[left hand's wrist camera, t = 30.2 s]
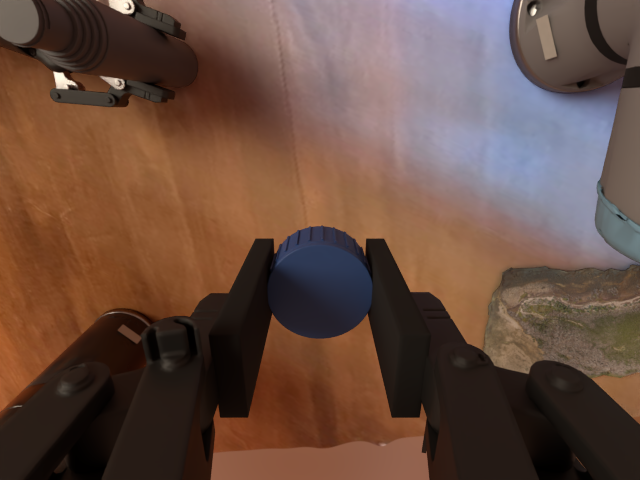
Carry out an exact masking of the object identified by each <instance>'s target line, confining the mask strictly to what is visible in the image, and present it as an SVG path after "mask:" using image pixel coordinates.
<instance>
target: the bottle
mask: <svg viewBox="0 0 640 480" xmlns="http://www.w3.org/2000/svg"><path fill="white" fill-rule="evenodd" d="M0 37H2V38H3V39H5V40H6V41H8V42H10V43H12V44H14V45H16V46H20V47H26V48H31V47H32V48H37V49H38V50H39V51H40V52H42V53H43V54H44V55H45V56H46V57H47V58H48V59H50V60H51V61H52V62H53V63H55V64H56V65H58V66H60V67H62V68H65V69H67V70H69V71H72V72H77V73H83V74H90V75H97V76H104V77H111V78H117V79H124V80H131V81H138V82H145V83H151V84H158V85H165V86H172V87H185V86H188V85H189V84H191V83H192V82H193V81H194V79H195V77H196V75H197V71H198V63H197V59H196V56H195V54H194V52H193V51H192V49H191V48H190V47H189V46H188V45H187V44H185V43H184V42H182V41H180V40H178V39H176V38H174V37H171V36H169V35H167V34H165V33H163V32H161V31H159V30H157V29H155V28H153V27H151V26H149V25H147V24H144V23H142V22H140V21H138V20H136V19H134V18H132V17H130V16H128V15H126V14H124V13H122V12H120V11H117V10H115V9H113V8H111V7H109V6H107V5H105V4H103V3H101V2H99V1H97V0H0Z"/></svg>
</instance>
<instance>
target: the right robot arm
mask: <svg viewBox="0 0 640 480" xmlns="http://www.w3.org/2000/svg"><path fill="white" fill-rule="evenodd" d="M97 1H99V2H101V3H103V4H105V5H107V6H109V7H111V8H113V9H115V10H117V11H120V12H122V13H124V14H126V15H128V16H130V17H132V18H134V19H136V20H138V21H140V22H142V23H144V24H147V25H149V26H151V27H153V28H155V29H157V30H159V31H161V32H164V33H166V34H169V35H172V36H174V37H177V38H179V39H182V40H185V37H186V32H185V31H183V30H181V29H180V27H181V24H180V23H179V22H178V21H177V20H176V19H174V18H173V17H171V16H169V15H167V14H164V13H162V12H159V11H156V10H154V9H151V8H149V7H146V6H145V4H144V2H143V0H97ZM0 46H1V47H4V48H7V49H10V50H13V51H15V52H18V53H21V54H24V55H26V56H29V57H32V58H35V59H37V60H39V61H41V62H42V63H43V64H44V65H45V66H46V67H48V68H49V69H50V70H52V71H53V72H54V78H55V83H56V88H54V89H52V90H51V91H50V96H51V98H52V99H53V100H54V101H55V102H60V103H71V104H82V105H93V106H105V107H126V106H127V105H128V103H129V100H128V99H129V97H130V96H131V95H132V94H133V95H136V96H139V97H142V98H145V99H147V100H150V101H153V102H158V103H165V102H167V100H168V99H174V97H175V92H174V91H172V90H169V89H166V88H163V87H161V86H158V85H155V84H151V83H145V82H138V81H131V80H124V79H117V78H111V77H104V76H99V77H100V78H102V79H103V80H104V81H106V82H107V83H109V84H110V85H111V87H110V89H109V91H108V93H104V92H93V91H85V87H84V86H83V84H82V83H80V82H78V81H75V80H74V79H73V78H72V77H71V75H70V73H72V71H69V70H67V69H65V68H62V67H60V66H58V65H56V64H55V63H53V62H52V61H51V60H50V59H48V58H47V57H46V56H45V55H44V54H43V53H42V52H40V51H39V50H38V49H37V48H32V47H31V48H26V47H20V46H16V45H14V44H12V43H10V42H8V41H6V40H5V39H3V38H2V37H0ZM151 324H153V323H152V322H151V321H150V320H149V319H148V318H147V317H145V316H144V315H142V314H140V313H138V312H136V311H133V310H129V309H113V310H110V311H107V312H105V313H104V314H102V315H101V316H100V317H99V318H98V319H97V320H96V321H95V323H94V324H93V325H92V326H91V327H90V328H88V329H87V330H86V331H85V332H84V333H83V334H82V335H81V336H80V337H79V338H78V339H77V340H76V341H75V342H73V343H72V344H71V345H70V346H69V347H68V348H67V349H66V350H65V351H64V352H63V353H62V354H61V355H60V356H59V357H58V358H57V359H56V360H54V361H53V362H52V363H51V364H50V365H49V366H48V367H47V368H46V369H45V370H44V371H43V372H42V373H41V374H40V375H39V376H38V377H37V378H36V379H34V380H33V381H32V382H31V383H30V384H29V385H28V386H27V387H26V388H25V389H24V390H23V391H22V392H21V393H20V394H19V395H18V396H17V397H16V398H15V399H14V400H12V401H11V402H10V403H9V404H8V405H7V406H6V407H5V408H4V409H3V410H2V411H1V412H0V427H1V426H2V425H3V424H4V423H5V422H6V421H7V420H8V419H9V418H10V417H11V416H12V415H13V414H14V413H15V412H16V411H17V410H18V409H19V408H21V407H22V406H23V405H24V404H25V403H26V402H27V401H28V400H29V399H30V398H31V397H32V396H33V395H34V394H35V393H36V392H37V391H38V390H39V389H40V388H42V387H43V386H44V385H45V384H46V383H47V382H48V381H49V380H50V379H52V378H53V377H54V376H56V375H57V374H58V373H60V372H62V371H64V370H66V369H68V368H70V367H72V366H75V365H78V364H81V363H85V362H95V361H96V362H101V363H105V364H106V365H107V366H108V367H109V368H110V372H111V375H115V374H120V373H124V372H129V371H133V370H137V369H140V368H144V366H145V365H146V364H147V361H146V357H145V353H144V348H143V344H142V340H141V334H142V332H143V331H144V330H145V329H146V328H147V327H148V326H150V325H151ZM63 460H64V459H63ZM63 460H62V461H63ZM62 461H61V463H62ZM61 463H60V464H61ZM60 464H59V465H60ZM59 465H58V466H59Z"/></svg>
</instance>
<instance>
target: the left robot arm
mask: <svg viewBox="0 0 640 480" xmlns="http://www.w3.org/2000/svg"><path fill="white" fill-rule="evenodd" d="M509 35H510V44H511V49H512V53H513V56H514V59H515V61H516V63H517V65H518V67H519V68H520V70H521V72H522V73H523V74H524V75H525V76H526V77H527V78H528V79H529V80H530V81H531V82H532V83H534V84H535V85H537V86H539V87H541V88H543V89H545V90H549V91H552V92H559V93H569V92H584V91H590V90H594V89H597V88H600V87H603V86H605V85H608V84H610V83H612V82H614V81H616V80H617V79H619V78H621V77H623V76H624V79H623V84H622V88H621V91H620V96H619V101H618V105H617V110H616V115H615V119H614V124H613V128H612V132H611V137H610V141H609V145H608V150H607V154H606V158H605V163H604V167H603V171H602V175H601V178H600V180H599V181H598V183H597V193H598V201H597V207H596V214H595V225H596V229H597V231H598V232H599V234H600V235H601V236H602V237H603V238H604V240H605V241H606V242H607V243H608V244H609V245H610V246H611V247H613V248H614V249H615V250H617V251H618V252H620V253H621V254H623V255H625V256H627V257H628V258H630V259H632V260H634V261H636V262H638V263H640V0H514V2H513V6H512V10H511V16H510V26H509ZM273 257H274V239H255V241H254V243H253V245H252V247H251V249H250V251H249V253H248V255H247V257H246V259H245V261H244V263H243V266H242V268H241V270H240V272H239V274H238V276H237V278H236V280H235V282H234V284H233V286H232V288H231V290H230V292H229V293H211V294H209V295H208V296H207V297H205V298H204V299H202V300H201V301H200V302H199V304H198V305H197V307H196V308H195V310H194V312H193V313H192V315H191V317H187V316H173V317H169V318H164V319H162V320H159V321H157V322H154V323H153V324H151V325H150V326H148V327H147V328H146V329H145V330H144V331H143V332H142V334H141V340H142V344H143V348H144V353H145V357H146V361H147V364H146V367H144V368H140V369H137V370H133V371H129V372H124V373H120V374H115V375H111V372H110V368H109V367H108V366H107V365H106V364H105V363H101V362H96V361H95V362H85V363H81V364H78V365H75V366H72V367H70V368H68V369H66V370H64V371H62V372H60V373H58V374H57V375H56V376H54V377H53V378H52V379H50V380H49V381H48V382H47V383H46V384H45V385H44V386H43V387H42V388H40V389H39V390H38V391H37V392H36V393H35V394H34V395H33V396H32V397H31V398H30V399H29V400H28V401H27V402H26V403H25V404H24V405H23V406H22V407H21V408H19V409H18V410H17V411H16V412H15V413H14V414H13V415H12V416H11V417H10V418H9V419H8V420H7V421H6V422H5V423H4V424H3V425H2V426H1V427H0V480H210V479H211V469H212V459H213V449H214V438H215V428H214V421H213V417H214V414H215V411H216V408H217V405H219V412H220V417H248V415H249V411H250V406H251V402H252V398H253V393H254V389H255V385H256V381H257V376H258V372H259V368H260V363H261V359H262V355H263V350H264V346H265V342H266V338H267V333H268V329H269V325H270V320H271V316H272V311H271V309H270V307H269V304H268V291H267V283H268V279H269V276H270V272H271V271H269V270H270V267H271V264H272V260H273ZM365 257H366V258H367V261H368V264H369V267H370V270H371V278H372V282H373V285H372V301H371V307H370V309H369V311H368V317H369V321H370V326H371V330H372V334H373V338H374V343H375V347H376V351H377V356H378V360H379V364H380V369H381V373H382V377H383V382H384V386H385V390H386V394H387V399H388V403H389V407H390V412H391V416H392V418H420V411H421V404H423V407H424V410H425V413H426V416H427V421H426V427H425V434H424V441H423V447H422V453H426V451H427V458H428V468H429V478H430V480H640V424H639V423H637V422H636V421H635V420H634V419H633V418H632V417H631V416H630V415H629V414H628V413H627V412H626V411H625V410H624V409H623V408H622V407H621V406H619V405H618V404H617V403H616V402H615V401H614V400H613V399H612V398H611V397H610V396H609V395H608V394H607V393H606V392H605V391H604V390H603V389H601V388H600V387H599V386H598V385H597V384H596V383H595V382H594V381H593V380H592V379H591V378H589V377H588V376H587V375H585V374H584V373H583V372H581V371H580V370H578V369H576V368H574V367H572V366H570V365H567V364H564V363H561V362H557V361H550V360H542V361H537V362H535V363H534V364H533V365H532V366H531V367H530V371H529V374H527V373H522V372H518V371H513V370H509V369H504V368H501V367H497V366H495V365H494V364H493V362H492V360H491V359H490V357H489V356H488V355H487V354H486V353H485V352H483V351H482V350H481V349H479V348H477V347H474V346H472V345H470V344H467V343H466V341H465V339H464V338H463V336H462V335H461V333H460V331H459V330H458V328H457V327H456V325H455V323H454V322H453V320H452V319H451V318H450V315H449V314H448V312H447V311H446V309H445V307H444V306H443V304H442V303H441V301H440V300H439V299H438V298H436V297H435V296H433V295H432V294H431V293H429V292H410V290H409V288H408V286H407V284H406V282H405V280H404V278H403V276H402V274H401V272H400V270H399V268H398V266H397V264H396V262H395V260H394V258H393V256H392V254H391V252H390V250H389V248H388V246H387V244H386V242H385V240H384V239H366V253H365ZM576 457H577V458H578V459H579V461H580V462H581V463H582V464H583V466H584V467H585V468H586V469H585V468H584V467H583V466H582V465H581V464H580V462H579V461H578V460H577V458H576ZM63 459H64V460H63ZM62 460H63V461H62ZM61 461H62V463H61ZM60 463H61V464H60ZM59 464H60V465H59ZM58 465H59V466H58Z"/></svg>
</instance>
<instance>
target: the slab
mask: <svg viewBox="0 0 640 480" xmlns="http://www.w3.org/2000/svg"><path fill="white" fill-rule="evenodd" d="M488 314H489V321H488V324H487V327H486V333H485V347H484V352H485V353H486V354H487V355H488V356H489V357H490V359H491V360H492V362H493V364H494V365H495V366H497V367H501V368H504V369H509V370H513V371H518V372H522V373H527V374H529V371H530V367H531V366H532V365H533V364H534V363H535V362H537V361H542V360H550V361H557V362H561V363H564V364H567V365H570V366H572V367H574V368H576V369H578V370H580V371H581V372H583V373H584V374H585V375H587V376H588V377H589V378H595V377H598V376H601V375H607V376H612V377H619V378H621V377H624V376H627V375H630V374H634V373H637V372H639V373H640V266H637V265H630V268H629V269H627V270H625V271H619V270H614V269H608V270H607V271H601V270H598V269H594V268H586V269H581V270H576V271H572V272H566V271H563V270H556V269H549V268H547V267H546V266H544V267H540V268H524V269H512V268H510V269H508V270H506V271H505V272H503V275H502V281H501V284H500V286H499V287H498V289H497V290H496V291H495V292H494V293H493V297H492V302H491V303H490V304H489V313H488Z"/></svg>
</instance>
